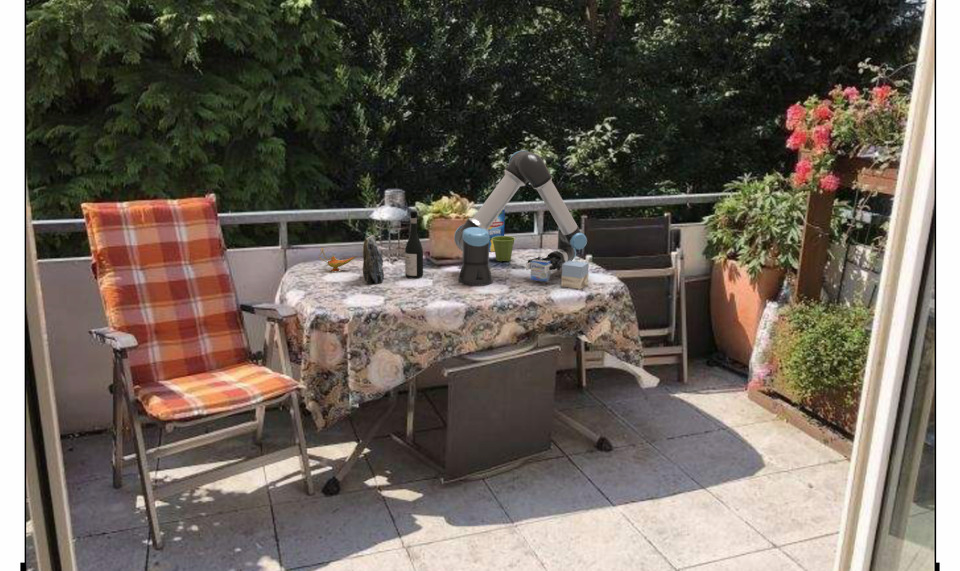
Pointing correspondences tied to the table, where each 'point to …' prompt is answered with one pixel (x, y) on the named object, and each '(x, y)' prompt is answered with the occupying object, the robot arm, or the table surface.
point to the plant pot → (503, 247)
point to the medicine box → (539, 270)
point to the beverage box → (496, 229)
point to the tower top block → (575, 269)
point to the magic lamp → (336, 261)
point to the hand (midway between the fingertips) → (536, 268)
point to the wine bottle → (414, 251)
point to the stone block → (372, 261)
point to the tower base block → (574, 281)
